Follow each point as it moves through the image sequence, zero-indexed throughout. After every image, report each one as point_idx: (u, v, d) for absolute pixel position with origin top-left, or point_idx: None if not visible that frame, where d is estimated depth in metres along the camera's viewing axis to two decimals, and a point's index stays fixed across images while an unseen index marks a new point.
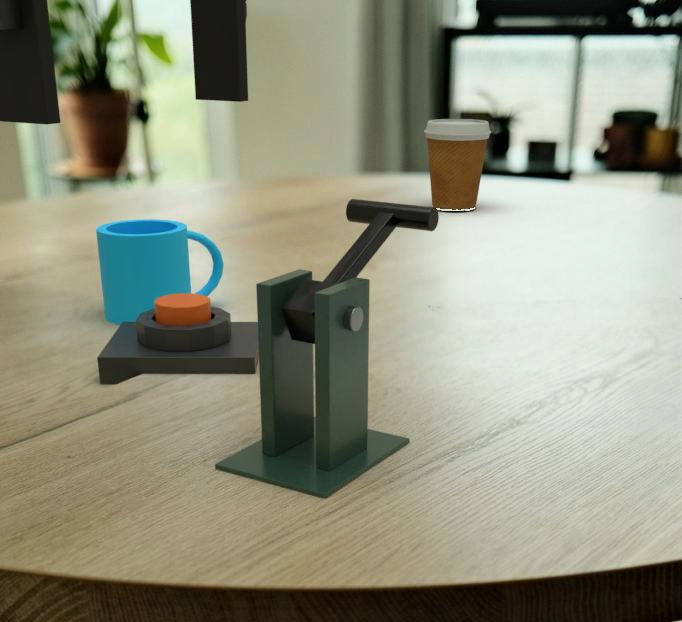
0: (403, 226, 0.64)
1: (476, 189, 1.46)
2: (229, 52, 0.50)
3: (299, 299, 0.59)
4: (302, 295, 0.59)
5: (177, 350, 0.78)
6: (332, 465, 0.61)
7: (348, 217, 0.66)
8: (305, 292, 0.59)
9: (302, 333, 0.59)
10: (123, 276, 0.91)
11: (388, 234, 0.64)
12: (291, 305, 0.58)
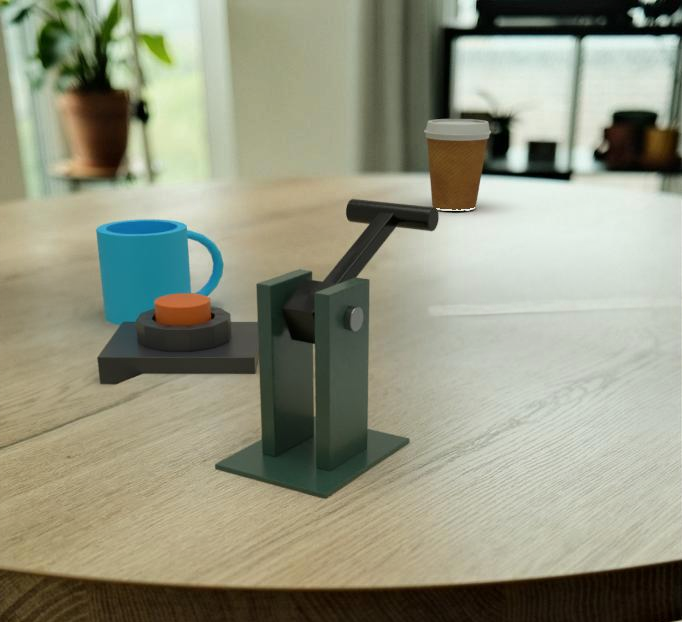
0: (403, 226, 0.64)
1: (476, 189, 1.46)
2: None
3: (299, 299, 0.59)
4: (302, 295, 0.59)
5: (177, 350, 0.78)
6: (332, 465, 0.61)
7: (348, 217, 0.66)
8: (305, 292, 0.59)
9: (302, 333, 0.59)
10: (123, 276, 0.91)
11: (388, 234, 0.64)
12: (291, 305, 0.58)
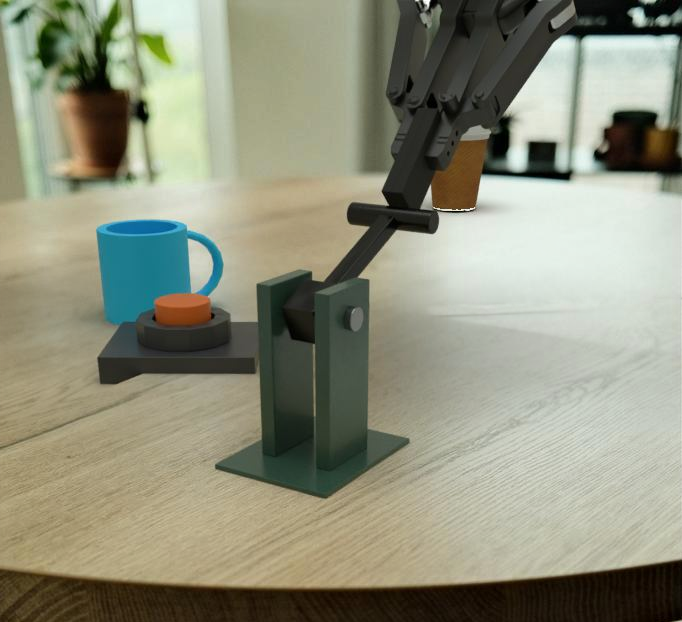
0: (404, 229, 0.64)
1: (476, 189, 1.46)
2: None
3: (299, 299, 0.59)
4: (302, 295, 0.59)
5: (177, 350, 0.78)
6: (332, 465, 0.61)
7: (349, 220, 0.66)
8: (305, 292, 0.59)
9: (302, 333, 0.59)
10: (123, 276, 0.91)
11: (388, 237, 0.64)
12: (291, 304, 0.58)
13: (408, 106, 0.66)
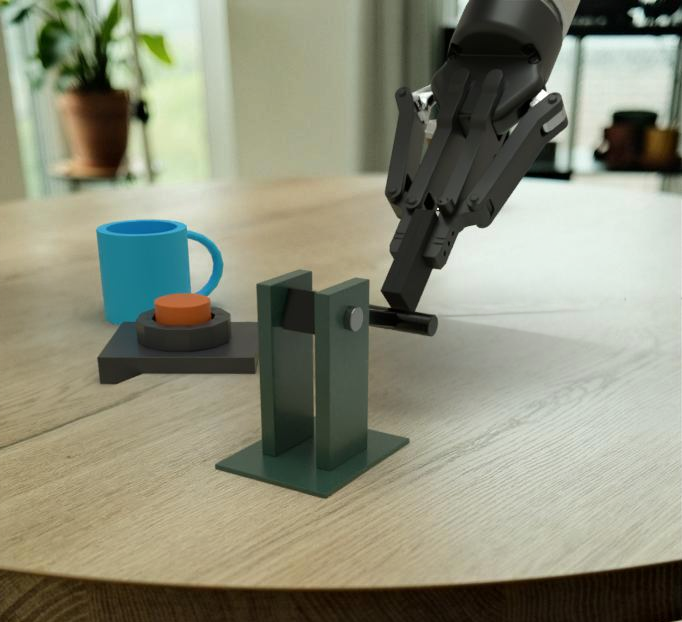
0: (403, 326, 0.67)
1: None
2: None
3: None
4: (310, 290, 0.59)
5: (177, 350, 0.78)
6: (332, 465, 0.61)
7: None
8: (313, 290, 0.60)
9: (298, 319, 0.59)
10: (123, 276, 0.91)
11: (388, 324, 0.66)
12: None
13: (406, 206, 0.69)
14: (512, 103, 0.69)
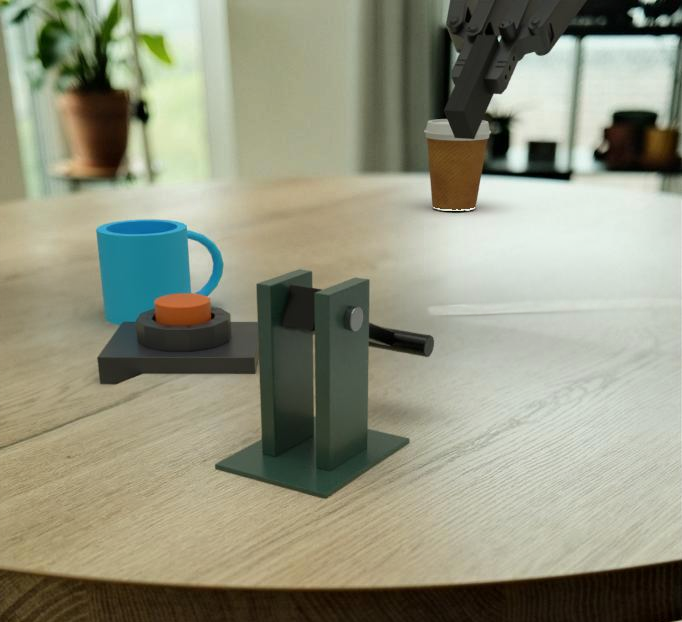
0: (399, 345, 0.67)
1: (476, 189, 1.46)
2: None
3: None
4: None
5: (177, 350, 0.78)
6: (332, 465, 0.61)
7: None
8: None
9: (297, 316, 0.58)
10: (123, 276, 0.91)
11: (385, 341, 0.67)
12: (300, 286, 0.59)
13: (468, 34, 0.71)
14: None
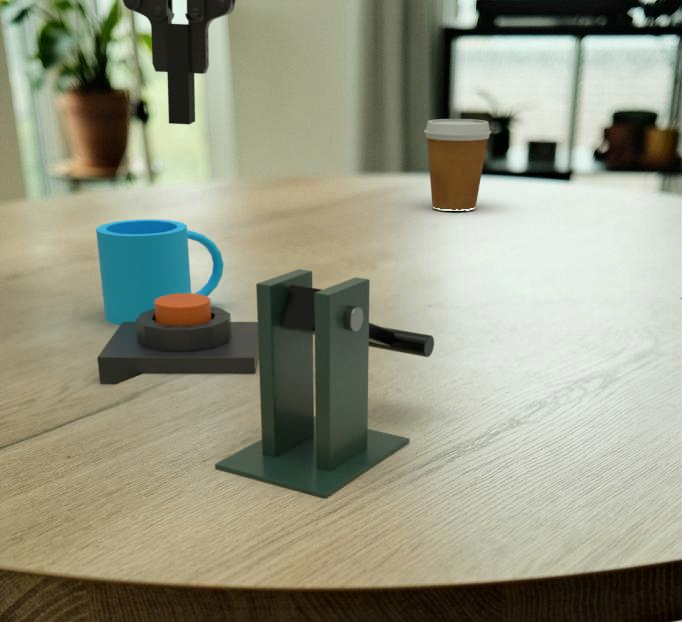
0: (399, 345, 0.67)
1: (476, 189, 1.46)
2: None
3: None
4: None
5: (177, 350, 0.78)
6: (332, 465, 0.61)
7: None
8: None
9: (297, 316, 0.58)
10: (123, 276, 0.91)
11: (385, 341, 0.67)
12: (300, 286, 0.59)
13: (154, 19, 0.70)
14: None
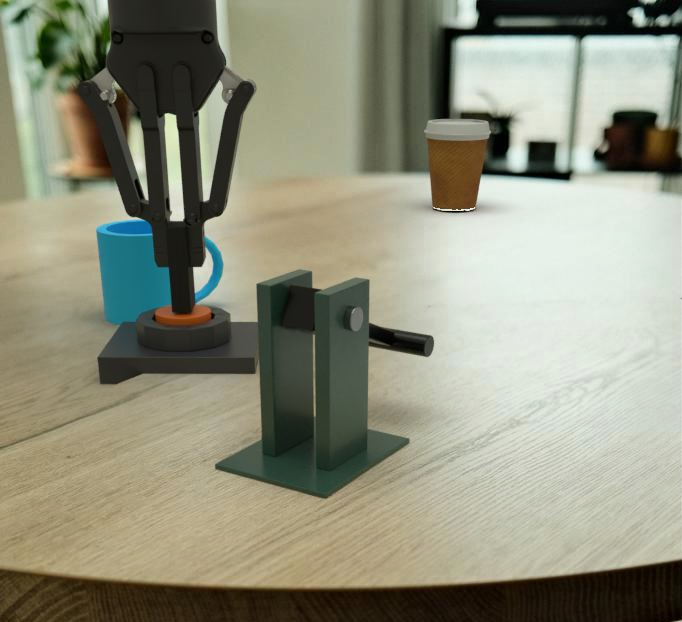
0: (399, 345, 0.67)
1: (476, 189, 1.46)
2: None
3: None
4: None
5: (177, 350, 0.78)
6: (332, 465, 0.61)
7: None
8: None
9: (297, 316, 0.58)
10: (123, 276, 0.91)
11: (385, 341, 0.67)
12: (300, 286, 0.59)
13: (154, 224, 0.77)
14: (205, 93, 0.73)
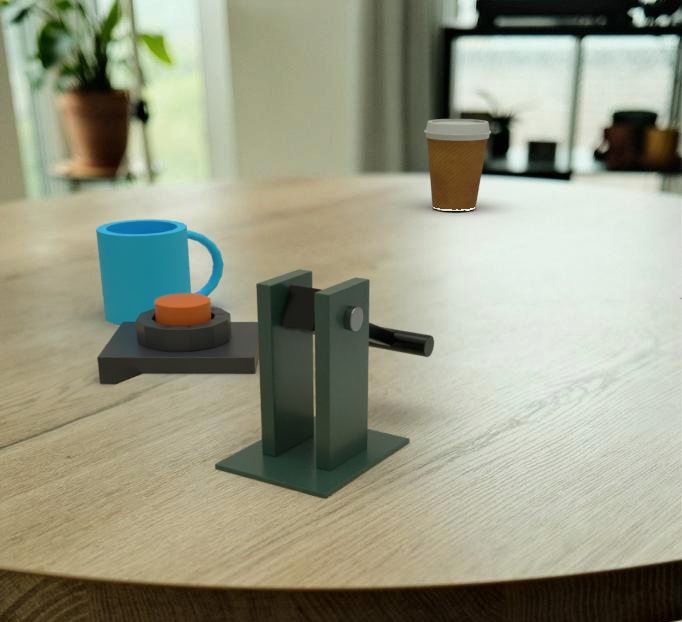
0: (399, 345, 0.67)
1: (476, 189, 1.46)
2: None
3: None
4: None
5: (177, 350, 0.78)
6: (332, 465, 0.61)
7: None
8: None
9: (297, 316, 0.58)
10: (123, 276, 0.91)
11: (385, 341, 0.67)
12: (300, 286, 0.59)
13: None
14: None
